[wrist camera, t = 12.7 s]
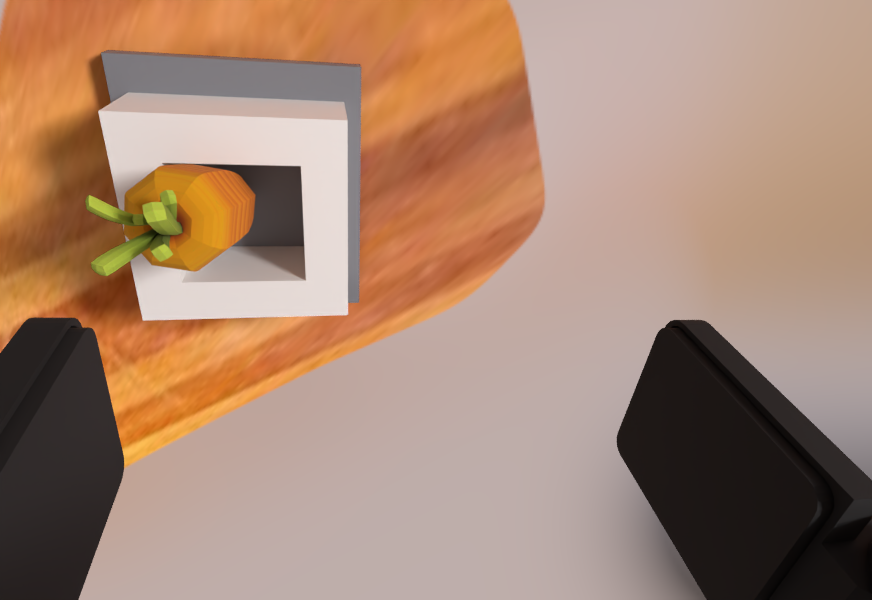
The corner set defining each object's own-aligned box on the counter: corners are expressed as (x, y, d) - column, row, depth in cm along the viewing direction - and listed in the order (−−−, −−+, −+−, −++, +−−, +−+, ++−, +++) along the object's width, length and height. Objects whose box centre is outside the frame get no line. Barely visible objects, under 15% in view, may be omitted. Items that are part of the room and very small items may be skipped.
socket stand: (108, 49, 31) (65, 65, 26) (359, 64, 34) (367, 81, 29) (156, 298, 39) (130, 349, 34) (358, 294, 42) (363, 340, 37)
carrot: (216, 242, 36) (90, 315, 22) (189, 165, 35) (36, 189, 20) (291, 225, 36) (214, 287, 22) (267, 146, 35) (168, 158, 20)
